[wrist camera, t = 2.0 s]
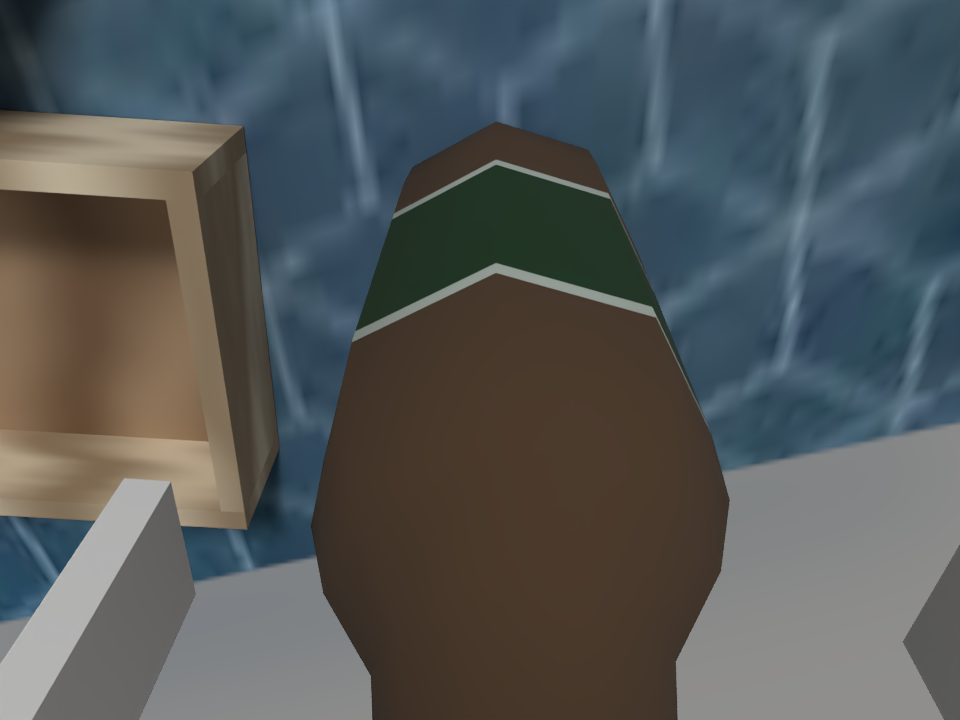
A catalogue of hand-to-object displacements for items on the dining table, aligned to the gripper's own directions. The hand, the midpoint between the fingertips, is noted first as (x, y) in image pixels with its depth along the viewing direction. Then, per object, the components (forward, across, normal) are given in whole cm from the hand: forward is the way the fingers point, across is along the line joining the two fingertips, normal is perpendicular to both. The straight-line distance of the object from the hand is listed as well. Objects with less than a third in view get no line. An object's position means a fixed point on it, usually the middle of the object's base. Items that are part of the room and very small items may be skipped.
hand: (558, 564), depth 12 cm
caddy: (+13, -16, -3) cm, 21 cm away
